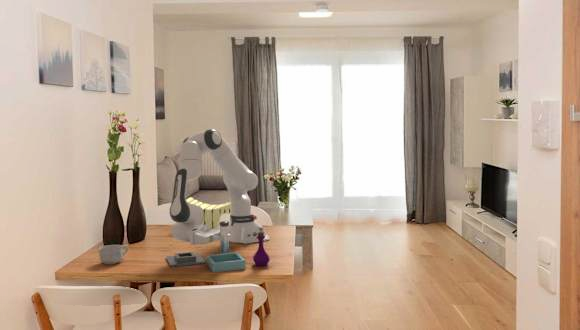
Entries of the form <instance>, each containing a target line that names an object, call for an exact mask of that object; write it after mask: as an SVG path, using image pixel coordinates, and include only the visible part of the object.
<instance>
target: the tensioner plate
mask: <svg viewBox="0 0 580 330" xmlns="http://www.w3.org/2000/svg"><path fill="white" fill-rule="evenodd" d="M165 259H166V261H167V263H168V265H169V266H171V267H170V268H176V267H175V266H177V267H184V266H185V267H186V266H193V265H194V266H196V265H205V264H206V260H204V258H203V256H201V254H200V253H194V251H188V252H178V253H177V252H176V253H174V254H173V255H170V256H168V255H167V256H165Z"/></svg>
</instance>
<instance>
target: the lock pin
mask: <svg viewBox="0 0 580 330" xmlns="http://www.w3.org/2000/svg"><path fill="white" fill-rule="evenodd" d="M219 223H220V236H223V237H224V238H223V239H224V240H222V241H219V243H220V246H219V247H220V249H219V251H220V253H219V254H227V253H230V241H229V234H230V221H226V220H225V221H223V220H222V221H219Z"/></svg>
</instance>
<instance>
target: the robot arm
mask: <svg viewBox="0 0 580 330" xmlns="http://www.w3.org/2000/svg"><path fill="white" fill-rule="evenodd" d="M206 153H209V155H210V156H211V158H212V159H213V161H214V162H215V164H216V165H217V166H218V168H219V169H220V171H222V172H223V176H222V180H223V183H224V184H225V187H226V189H227V193H228V196H229V200H230V201H229V202H230V204H231V214H230V215H229V226H230V228H229V243H236V244H238V243H239V244H245V245H246V244H253V243H259V240H258V238H256V237H257V236H258V233H259V232H260V231H259V229H258V228H259V227H263V226H262V225H261V224H260V223H258V222H257V221H256V220H257V219H258V216H257V215H254V214H252V201H251V198H250V196H249V195H248V191H253V190H255V189H256V188H257V186H258V184H259V178H258V176H257V174H256V173H254V172H253V171H252V170H250V169H249V167H248V166H247V165H246V164H245V163H244V162H243V161H242V160H241V159H240V158H239V157H238V156H237V155H236V153H235V152H234V150H233V149H232V147H231V146H230V145H229V142H228V141H227V140H225V139H224V137H223V136H222V135H221V133H220V132H219V131H218V130H216V129H206V130H203V131H199V132H197V133H195V134H192V135H191V136H190V135H189V136H187V137H186V138H185V139H184V140H183V141H182V144H181V147H180V152H179V169H178V170H177V171H176V174H175V176H174V177H175V178H174V185H173V193H172V200H171V204H170V207H169V215H170V219H171V220H172V221H174V222H175V223H174V224H173V225H172V227H171V234H172V237H173V238H175V239H176V240H178V241H181V242H186V243H190V245H191V246H194V245H195V246H196V245H206V244H207V245H208V244H209V243H212V242H215V241H216V242H217V241H218V242H220V241H222V240H224V239H223V238H224V237H223V236H220V228H214V229H211V230H210V229H209V227H208V226H207V225H201V224H202V220H203V216H204V213H203V210H202V208H201V207H200V206H197V205H194V204H190V203H188V202H187V201H186V200H187V188H188V184H189V183H190V181H195V180H197V179H199V178H200V176H201V175H202V173H203V155H205V154H206ZM262 232H264V236H265V238H264V239H263V242H266V241H270V236H269V235H268V234H266V230H265V228H263V230H262Z"/></svg>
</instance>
